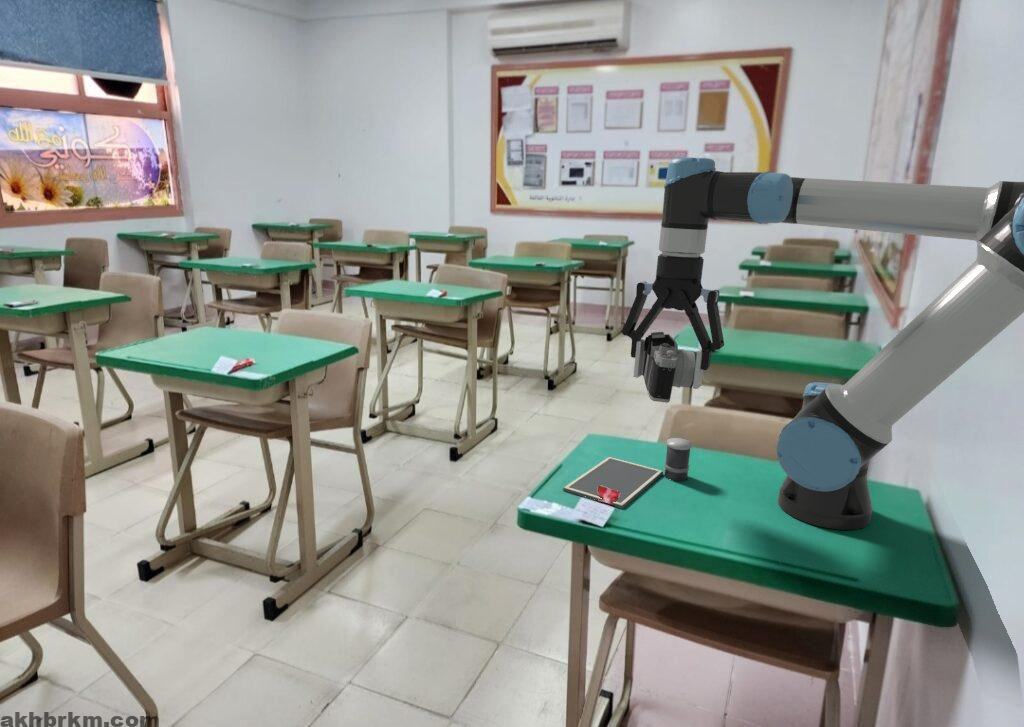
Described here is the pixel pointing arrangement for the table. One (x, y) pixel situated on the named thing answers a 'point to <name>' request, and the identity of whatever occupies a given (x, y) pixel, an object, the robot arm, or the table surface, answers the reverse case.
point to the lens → (677, 459)
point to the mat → (615, 480)
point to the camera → (666, 366)
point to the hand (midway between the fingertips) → (666, 381)
